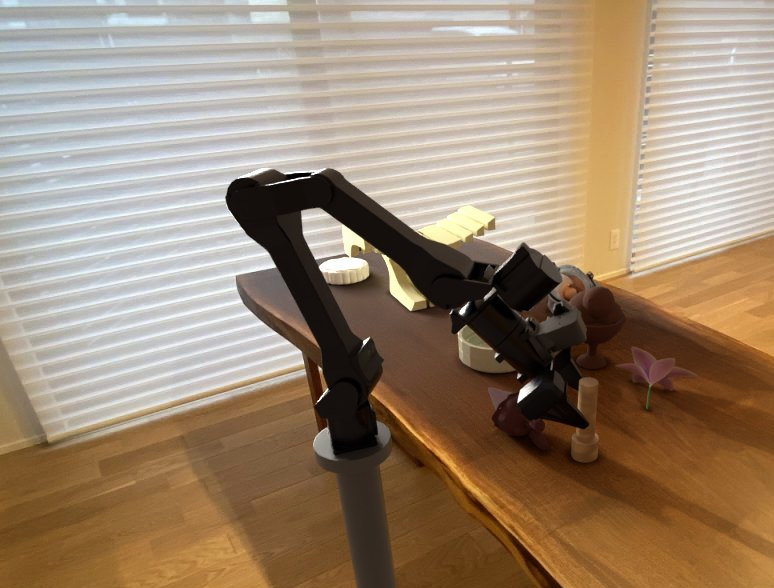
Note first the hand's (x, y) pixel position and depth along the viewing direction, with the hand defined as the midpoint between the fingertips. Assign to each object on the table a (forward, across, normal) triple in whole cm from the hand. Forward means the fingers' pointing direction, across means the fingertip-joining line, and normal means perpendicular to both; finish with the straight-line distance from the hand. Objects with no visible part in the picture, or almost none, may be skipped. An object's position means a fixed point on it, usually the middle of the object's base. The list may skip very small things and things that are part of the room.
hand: (587, 408), depth 84 cm
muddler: (+6, 0, +6) cm, 8 cm away
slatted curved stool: (-22, +60, +33) cm, 72 cm away
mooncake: (-38, +70, +49) cm, 93 cm away
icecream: (-2, +5, +13) cm, 14 cm away
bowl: (-6, +30, +17) cm, 35 cm away
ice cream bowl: (+6, +29, +5) cm, 30 cm away
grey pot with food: (+4, +51, +8) cm, 52 cm away
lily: (+13, +18, -2) cm, 22 cm away
